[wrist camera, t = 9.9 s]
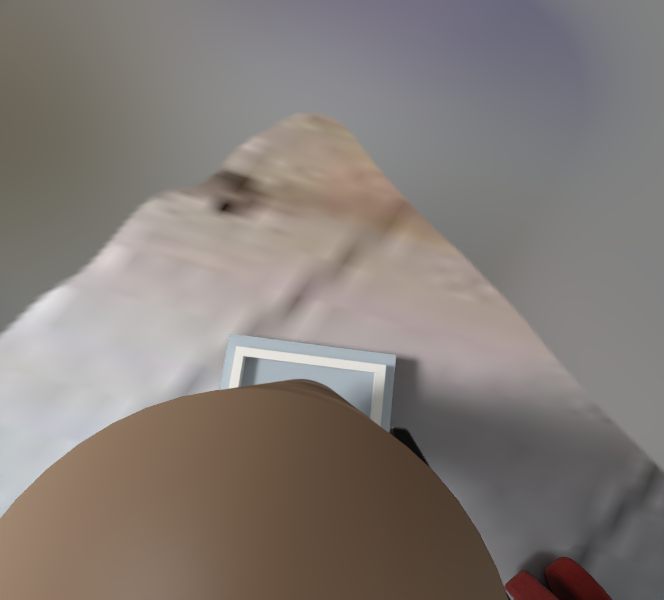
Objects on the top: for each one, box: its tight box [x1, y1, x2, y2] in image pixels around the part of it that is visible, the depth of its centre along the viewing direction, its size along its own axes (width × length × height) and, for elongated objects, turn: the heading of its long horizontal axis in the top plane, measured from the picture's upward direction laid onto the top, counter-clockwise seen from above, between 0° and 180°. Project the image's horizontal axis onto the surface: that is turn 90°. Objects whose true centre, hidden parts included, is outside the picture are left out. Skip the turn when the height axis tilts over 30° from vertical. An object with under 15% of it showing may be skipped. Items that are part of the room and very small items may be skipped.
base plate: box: [219, 334, 396, 432], centre depth 21 cm, size 10×10×3 cm
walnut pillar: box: [0, 379, 508, 600], centre depth 9 cm, size 5×5×13 cm
